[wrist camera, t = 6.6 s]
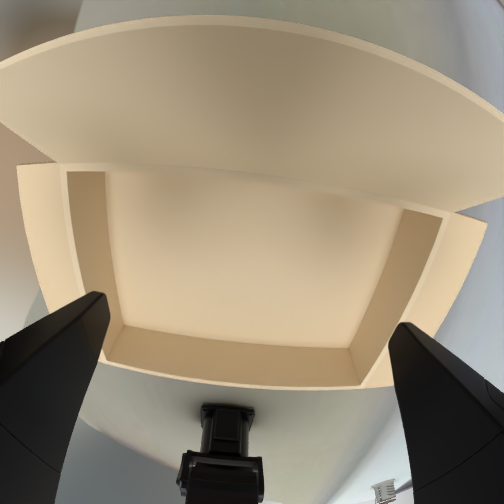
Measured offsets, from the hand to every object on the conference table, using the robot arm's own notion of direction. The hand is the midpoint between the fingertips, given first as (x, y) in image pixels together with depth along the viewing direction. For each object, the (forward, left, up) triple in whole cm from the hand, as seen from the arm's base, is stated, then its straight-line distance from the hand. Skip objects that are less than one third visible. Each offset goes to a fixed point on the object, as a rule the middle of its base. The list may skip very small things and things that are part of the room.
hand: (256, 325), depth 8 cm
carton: (-5, 0, -12) cm, 13 cm away
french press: (-97, -62, -12) cm, 116 cm away
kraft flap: (+3, 0, -6) cm, 7 cm away
